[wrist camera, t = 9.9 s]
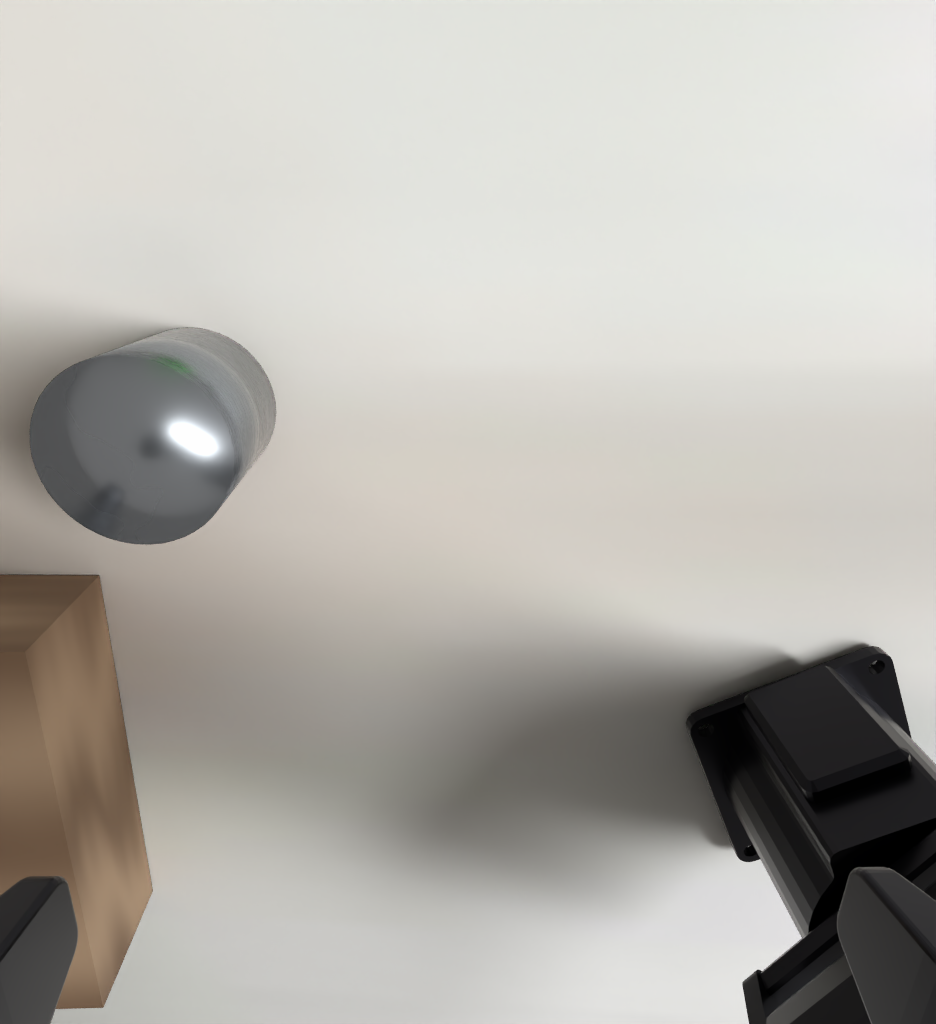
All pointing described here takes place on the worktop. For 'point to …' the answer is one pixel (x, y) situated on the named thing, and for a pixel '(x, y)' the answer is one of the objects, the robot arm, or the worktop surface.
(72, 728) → the hole block
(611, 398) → the worktop surface
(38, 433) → the short pin
